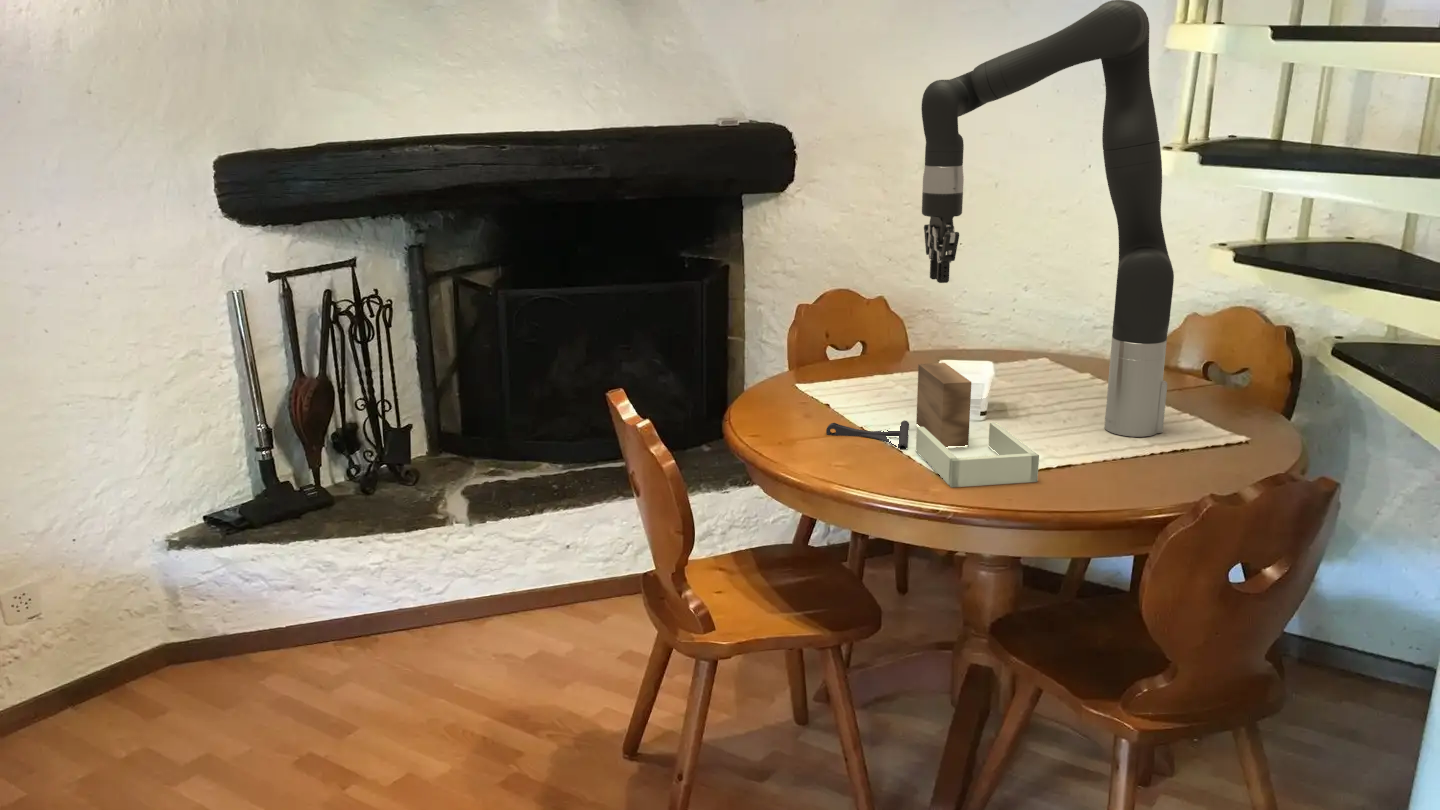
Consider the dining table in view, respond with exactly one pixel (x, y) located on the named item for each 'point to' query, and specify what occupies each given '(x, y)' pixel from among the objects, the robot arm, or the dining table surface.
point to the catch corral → (981, 460)
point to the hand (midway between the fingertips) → (939, 280)
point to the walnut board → (944, 403)
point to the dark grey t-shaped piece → (872, 433)
